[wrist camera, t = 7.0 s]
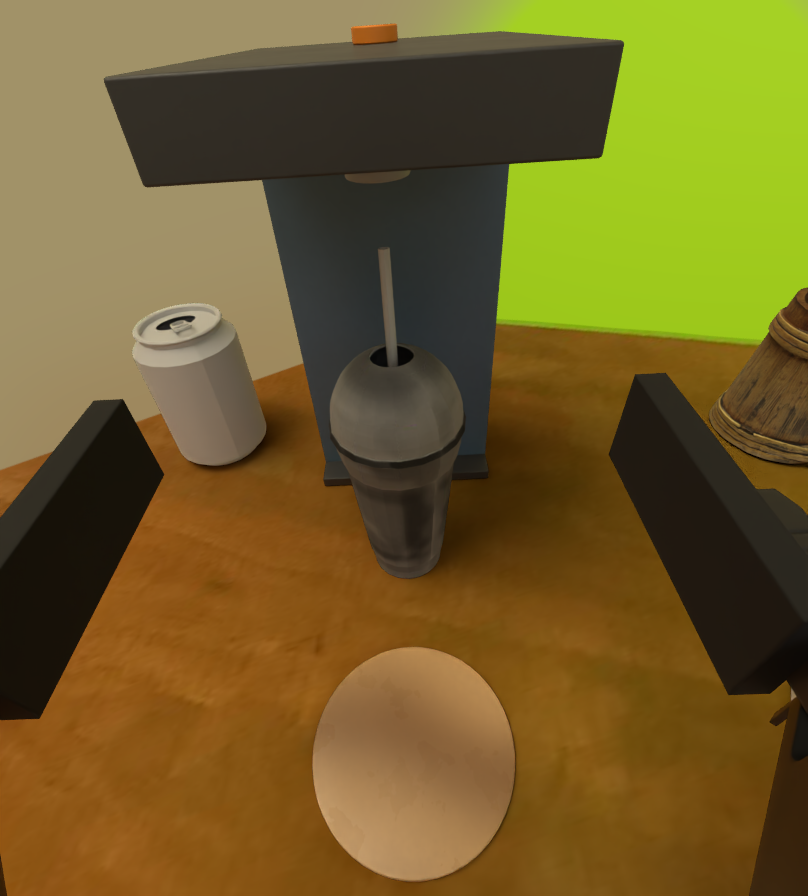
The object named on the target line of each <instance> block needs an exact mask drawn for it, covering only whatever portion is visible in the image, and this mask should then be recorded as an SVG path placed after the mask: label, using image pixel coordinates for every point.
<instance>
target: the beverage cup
mask: <svg viewBox="0 0 808 896" xmlns="http://www.w3.org/2000/svg"><path fill="white" fill-rule="evenodd" d="M378 257H379V269H380V281H381V293H382V305H383V317H384V329H385V340H386V344H381V345H378V346H375V347H372V348H370V349H368V350H366V351H364V352H362V353H361V354H359V355H358V356H357V357H355V358H354V359H353V360H352V361H351V362H350V363H349V364H348V365H347V366H346V367H345V369H344V370H343V371H342V373H341V374H340V376H339V378H338V380H337V383H336V385H335V388H334V390H333V393H332V397H331V400H330V419H329V432H330V439H331V441H332V442H333V444H334V445H335V447H336V449H337V451H338V453H339V455H340V458H341V460H342V462H343V464H344V465H345V467H346V468H347V470H348V473H349V476H350V479H351V482H352V485H353V489H354V492H355V495H356V498H357V501H358V505H359V508H360V511H361V514H362V517H363V521H364V524H365V527H366V530H367V533H368V537H369V540H370V543H371V546H372V549H373V550H374V552H375V555H376V557H377V561H378V563H379V564H380V566H381V568H382V569H383V570H385V571H386V572H387V573H388V574H390V575H393V576H396V577H398V578H409V579H410V578H415V577H420V576H422V575H424V574H426V573H428V572H429V571H430V570H431V569H432V568H433V567H434V566H435V565H436V564H437V562H438V560H439V558H440V551H441V546H442V544H443V538H444V531H445V523H446V516H447V509H448V501H449V494H450V487H451V479H452V472H453V465H454V461H455V459H456V457H457V454H458V451H459V447H460V444H461V437H462V435H463V434H464V432H465V424H466V416H465V412H464V410H463V402H462V398H461V394H460V391H459V389H458V387H457V384H456V382H455V380H454V378H453V376H452V374H451V373H450V371H449V370H448V368H447V367H446V366H445V365H444V364H443V363H442V362H441V361H440V360H439V359H437V358H436V357H435V356H434V355H433V354H431V353H429V352H428V351H426V350H424V349H422V348H419V347H417V346H414V345H410V344H404V343H397V342H396V328H395V315H394V301H393V287H392V274H391V260H390V248H389V247H381V248H378Z"/></svg>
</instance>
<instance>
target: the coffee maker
mask: <svg viewBox="0 0 808 896" xmlns="http://www.w3.org/2000/svg"><path fill="white" fill-rule="evenodd" d="M351 31H352V42H345V43H331V44H317V45H304V46H289V47H275V48H261V49H254V50H249V51H243V52H238V53H232V54H227V55H221V56H216V57H211V58H206V59H200V60H195V61H189V62H184V63H178V64H173V65H168V66H162V67H157V68H151V69H146V70H140V71H135V72H130V73H124V74H119V75H114V76H108V77H105V78H104V83H105V85H106V88H107V91H108V93H109V96H110V99H111V101H112V104H113V106H114V109H115V112H116V114H117V117H118V120H119V122H120V125H121V128H122V130H123V133H124V135H125V138H126V141H127V143H128V146H129V148H130V151H131V154H132V156H133V159H134V162H135V164H136V167H137V170H138V172H139V175H140V177H141V180H142V183H143V185H144V186H145V187H160V186H174V185H191V184H206V183H221V182H237V181H252V180H262V182H263V186H264V191H265V195H266V199H267V204H268V208H269V212H270V217H271V221H272V226H273V230H274V234H275V239H276V243H277V248H278V252H279V256H280V261H281V265H282V270H283V274H284V279H285V283H286V287H287V291H288V296H289V301H290V305H291V309H292V314H293V318H294V323H295V327H296V331H297V336H298V340H299V345H300V349H301V354H302V358H303V362H304V367H305V371H306V376H307V380H308V384H309V389H310V393H311V398H312V402H313V406H314V411H315V415H316V420H317V424H318V428H319V433H320V437H321V442H322V446H323V450H324V455H325V459H326V466H325V472H324V479H323V480H324V484H325V486H332V485H352V482H351V479H350V476H349V473H348V470H347V468H346V467H345V465H344V464H343V462H342V460H341V458H340V455H339V453H338V451H337V449H336V447H335V445H334V444H333V442H332V441H331V439H330V432H329V419H330V400H331V397H332V393H333V390H334V388H335V385H336V383H337V380H338V378H339V376H340V374H341V373H342V371H343V370H344V369H345V367H346V366H347V365H348V364H349V363H350V362H351V361H352V360H353V359H354V358H355V357H357V356H358V355H359V354H361V353H362V352H364V351H366V350H368V349H370V348H372V347H375V346H378V345H381V344H386V340H385V329H384V317H383V305H382V293H381V281H380V269H379V257H378V248H381V247H389V248H390V260H391V274H392V287H393V301H394V315H395V328H396V342H397V343H404V344H410V345H414V346H417V347H419V348H422V349H424V350H426V351H428V352H429V353H431V354H433V355H434V356H435V357H436V358H437V359H439V360H440V361H441V362H442V363H443V364H444V365H445V366H446V367H447V368H448V370H449V371H450V373H451V374H452V376H453V378H454V380H455V382H456V384H457V387H458V389H459V391H460V394H461V398H462V402H463V410H464V412H465V416H466V424H465V432H464V434H463V435H462V437H461V444H460V447H459V451H458V454H457V457H456V459H455V461H454V465H453V472H452V479H451V480H456V479H477V478H488V473H489V470H488V466H487V461H486V456H485V449H486V437H487V425H488V413H489V401H490V389H491V377H492V365H493V352H494V340H495V328H496V316H497V304H498V292H499V279H500V268H501V255H502V244H503V230H504V219H505V208H506V196H507V184H508V171H509V164H514V163H531V162H546V161H560V160H561V161H562V160H577V159H592V158H600V157H601V156H602V154H603V149H604V144H605V139H606V134H607V128H608V124H609V119H610V113H611V108H612V103H613V98H614V93H615V88H616V82H617V77H618V73H619V67H620V62H621V57H622V52H623V47H624V42H623V41H621V40H609V39H596V38H595V39H594V38H582V37H569V36H555V35H542V34H528V33H515V32H501V31H498V32H485V33H470V34H458V35H457V34H456V35H442V36H429V37H415V38H402V39H398V37H397V24H383V25H369V26H355V27H352V28H351Z"/></svg>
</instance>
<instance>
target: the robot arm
mask: <svg viewBox="0 0 808 896" xmlns="http://www.w3.org/2000/svg"><path fill="white" fill-rule="evenodd" d="M609 456H610V458H611V460H612V462H613V464H614V466H615V468H616V470H617V472H618V474H619V476H620V478H621V480H622V482H623V484H624V486H625V488H626V490H627V492H628V494H629V496H630V498H631V500H632V502H633V504H634V506H635V508H636V510H637V512H638V514H639V516H640V518H641V520H642V522H643V524H644V526H645V528H646V530H647V532H648V534H649V536H650V538H651V540H652V542H653V544H654V546H655V548H656V550H657V552H658V554H659V556H660V558H661V560H662V562H663V564H664V566H665V568H666V570H667V572H668V574H669V576H670V578H671V580H672V582H673V584H674V586H675V588H676V590H677V592H678V594H679V596H680V599H681V601H682V603H683V605H684V607H685V609H686V611H687V613H688V615H689V617H690V619H691V621H692V623H693V625H694V627H695V629H696V631H697V633H698V635H699V637H700V639H701V641H702V643H703V645H704V647H705V649H706V651H707V653H708V655H709V657H710V659H711V661H712V663H713V665H714V667H715V669H716V671H717V673H718V675H719V677H720V679H721V681H722V683H723V685H724V687H725V689H726V691H727V693H728V695H743V694H770V693H771V692H772V691H774V690H775V689H776V688H777V687H778V686H780V685H781V684H782V683H783V682H784V681H786V680H787V681H788V683H789V685H790V686H791V688H792V690H793V691H794V693H795V695H796V696H797V697H795V698H794V699H793V700H791V701H790V702H789V703H788V704H786V705H785V706H784V707H782V708H781V709H780V710H778V711H777V712H776V713H775V714H774V716H773V717H772V719H771V721H770V723H772V724H774V725H775V726H777V725H779V724H780V723H781V722H783V721H784V720H786V719H787V721H786V726H785V730H784V735H783V740H782V744H781V749H780V753H779V758H778V763H777V767H776V772H775V777H774V781H773V786H772V791H771V795H770V800H769V805H768V809H767V814H766V819H765V823H764V828H763V832H762V837H761V842H760V846H759V851H758V856H757V860H756V865H755V870H754V874H753V879H752V884H751V888H750V893H749V896H808V515H807V514H806V513H805V512H804V511H803V509H802V508H801V507H800V506H798V505H797V504H796V503H794V502H793V501H791V500H790V499H788V498H787V497H786V496H784V495H783V494H781V493H780V492H779V491H777V490H776V489H756V488H755V487H754V486H753V485H752V483H751V482H750V481H749V479H748V478H747V477H746V476H745V474H744V473H743V472H742V470H741V469H740V468H739V467H738V465H737V464H736V463H735V461H734V460H733V459H732V458H731V456H730V455H729V454H728V452H727V451H726V450H725V449H724V447H723V446H722V445H721V443H720V442H719V441H718V440H717V438H716V437H715V436H714V434H713V433H712V432H711V431H710V429H709V428H708V427H707V425H706V424H705V423H704V422H703V420H702V419H701V418H700V416H699V415H698V414H697V413H696V411H695V410H694V409H693V407H692V406H691V405H690V404H689V402H688V401H687V400H686V398H685V397H684V396H683V395H682V393H681V392H680V391H679V389H678V388H677V387H676V386H675V384H674V383H673V382H672V380H671V379H670V378H669V377H668V375H667V374H666V373H656V374H635V377H634V380H633V383H632V386H631V389H630V392H629V395H628V398H627V401H626V404H625V407H624V410H623V413H622V416H621V419H620V422H619V425H618V428H617V431H616V434H615V437H614V440H613V443H612V446H611V449H610V452H609ZM163 476H164V473H163V471H162V470H161V468H160V466H159V464H158V462H157V460H156V459H155V457H154V455H153V453H152V451H151V449H150V448H149V446H148V444H147V442H146V440H145V439H144V437H143V435H142V433H141V431H140V429H139V428H138V426H137V424H136V422H135V421H134V419H133V417H132V415H131V413H130V411H129V410H128V408H127V406H126V404H125V402H124V400H123V399H120V400H100V401H93V402H92V404H91V405H90V406H89V408H88V409H87V410H86V411H85V412H84V414H83V415H82V416H81V417H80V419H79V420H78V421H77V422H76V424H75V425H74V426H73V427H72V429H71V430H70V431H69V432H68V434H67V435H66V436H65V437H64V439H63V440H62V441H61V442H60V444H59V445H58V446H57V447H56V449H55V450H54V451H53V452H52V454H51V455H50V456H49V457H48V459H47V460H46V461H45V462H44V464H43V465H42V466H41V467H40V469H39V470H38V471H37V473H36V474H35V475H34V476H33V478H32V479H31V480H30V481H29V483H28V484H27V485H26V486H25V488H24V489H23V490H22V491H21V493H20V494H19V495H18V496H17V498H16V499H15V500H14V501H13V503H12V504H11V505H10V506H9V508H8V509H7V510H6V511H5V513H4V514H3V515H2V516H1V518H0V720H16V719H40V717H41V715H42V713H43V711H44V709H45V707H46V705H47V703H48V701H49V699H50V697H51V695H52V693H53V691H54V689H55V687H56V685H57V683H58V681H59V680H60V678H61V676H62V674H63V672H64V670H65V668H66V666H67V664H68V662H69V660H70V658H71V656H72V654H73V652H74V650H75V648H76V646H77V644H78V642H79V640H80V638H81V636H82V634H83V633H84V631H85V629H86V627H87V625H88V623H89V621H90V619H91V617H92V615H93V613H94V611H95V609H96V607H97V605H98V603H99V601H100V599H101V597H102V595H103V593H104V591H105V589H106V588H107V586H108V584H109V582H110V580H111V578H112V576H113V574H114V572H115V570H116V568H117V566H118V564H119V562H120V560H121V558H122V556H123V554H124V552H125V550H126V548H127V546H128V544H129V542H130V541H131V539H132V537H133V535H134V533H135V531H136V529H137V527H138V525H139V523H140V521H141V519H142V517H143V515H144V513H145V511H146V509H147V507H148V505H149V503H150V501H151V499H152V497H153V495H154V494H155V492H156V490H157V488H158V486H159V484H160V482H161V480H162V478H163ZM0 896H7V893H6V887H5V881H4V874H3V868H2V862H1V856H0Z"/></svg>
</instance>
